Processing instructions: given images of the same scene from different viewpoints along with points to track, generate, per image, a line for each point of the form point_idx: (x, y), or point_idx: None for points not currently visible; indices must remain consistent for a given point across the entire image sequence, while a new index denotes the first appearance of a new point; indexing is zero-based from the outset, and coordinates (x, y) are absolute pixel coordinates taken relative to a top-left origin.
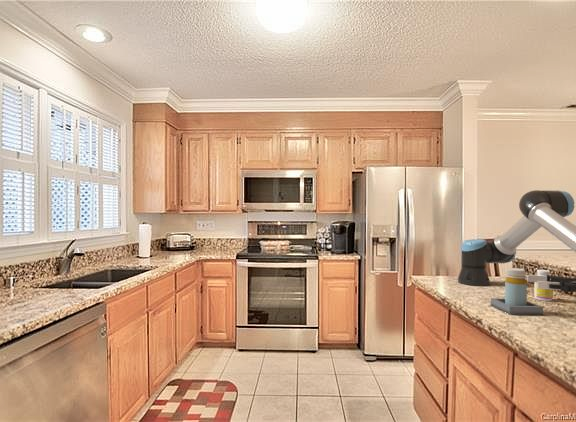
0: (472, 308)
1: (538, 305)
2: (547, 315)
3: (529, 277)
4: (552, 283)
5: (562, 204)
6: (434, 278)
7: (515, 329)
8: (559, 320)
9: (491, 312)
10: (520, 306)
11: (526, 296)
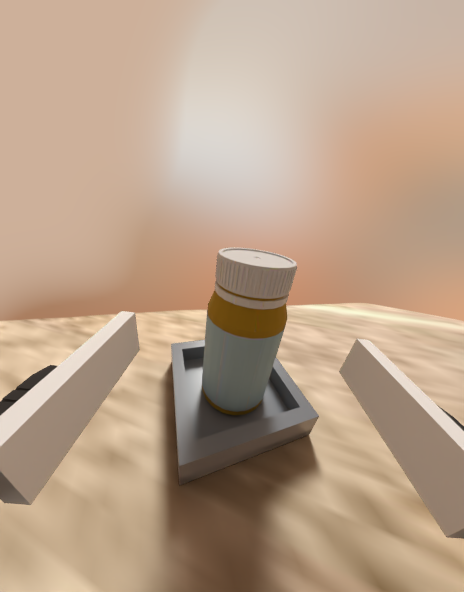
0: None
1: (209, 452)
2: (175, 517)
3: (357, 358)
4: (48, 384)
5: None
6: (444, 319)
7: (46, 337)
8: (65, 565)
9: (188, 335)
10: (177, 370)
11: (226, 381)
